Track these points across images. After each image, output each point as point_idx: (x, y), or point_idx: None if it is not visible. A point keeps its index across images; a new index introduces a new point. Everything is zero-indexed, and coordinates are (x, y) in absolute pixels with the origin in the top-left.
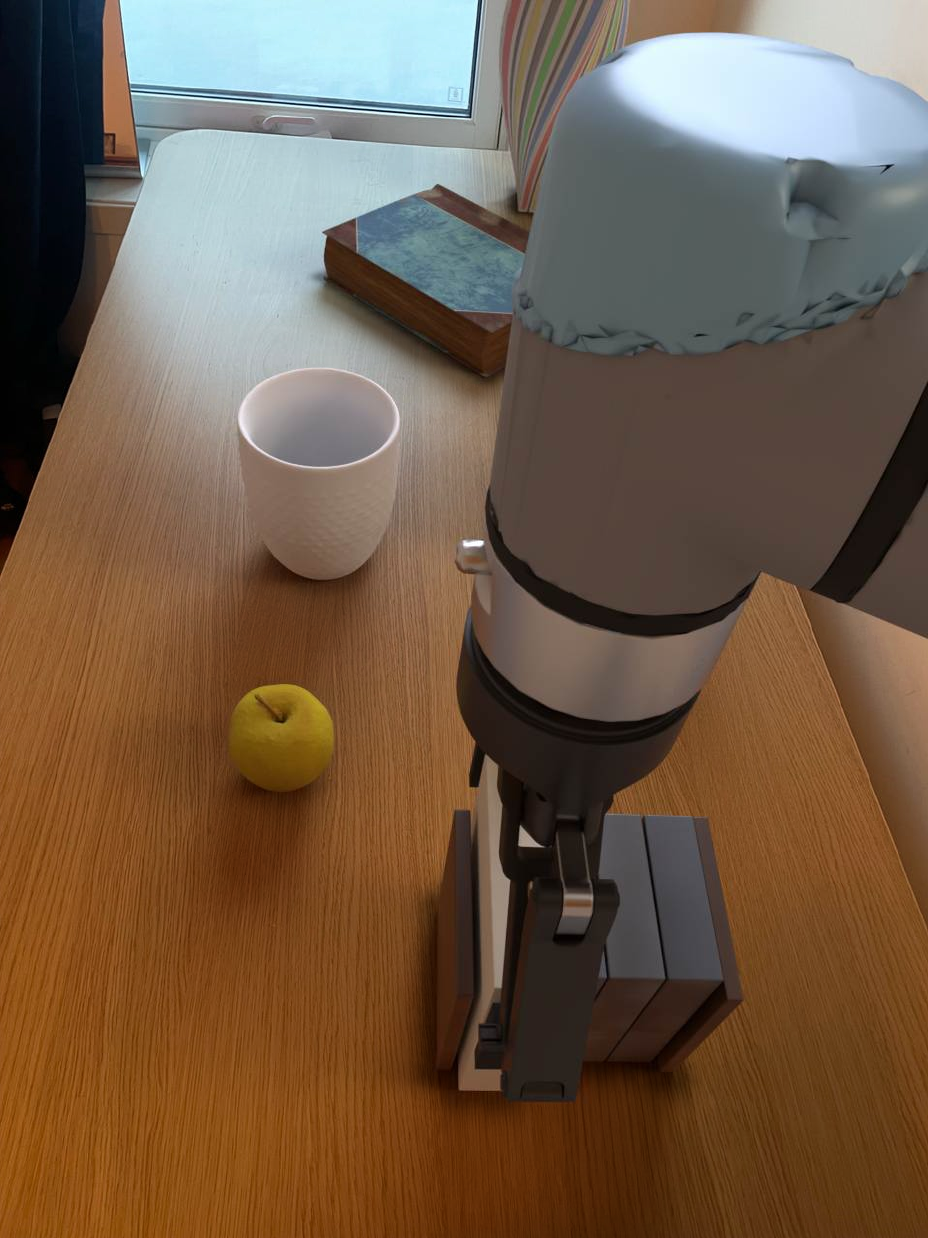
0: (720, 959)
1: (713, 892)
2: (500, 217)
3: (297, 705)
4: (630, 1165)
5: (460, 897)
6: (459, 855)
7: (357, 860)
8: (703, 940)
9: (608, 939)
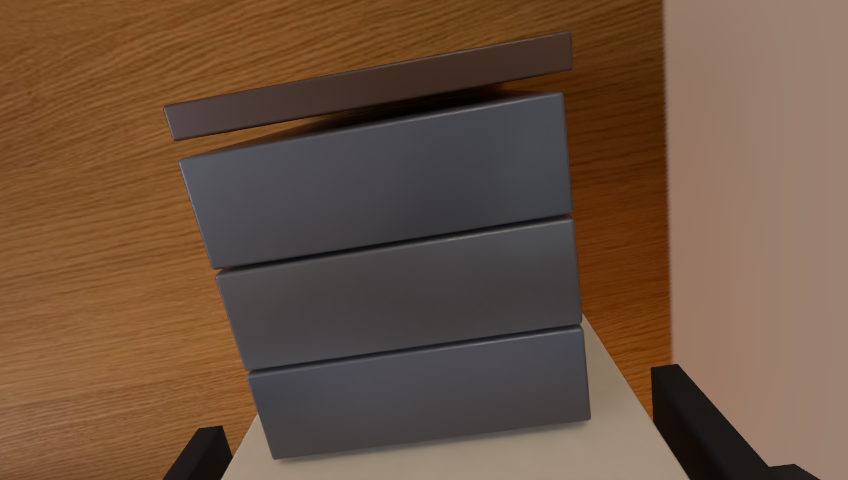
0: (490, 83)
1: (341, 95)
2: None
3: None
4: (605, 110)
5: None
6: None
7: None
8: (477, 137)
9: (506, 329)
